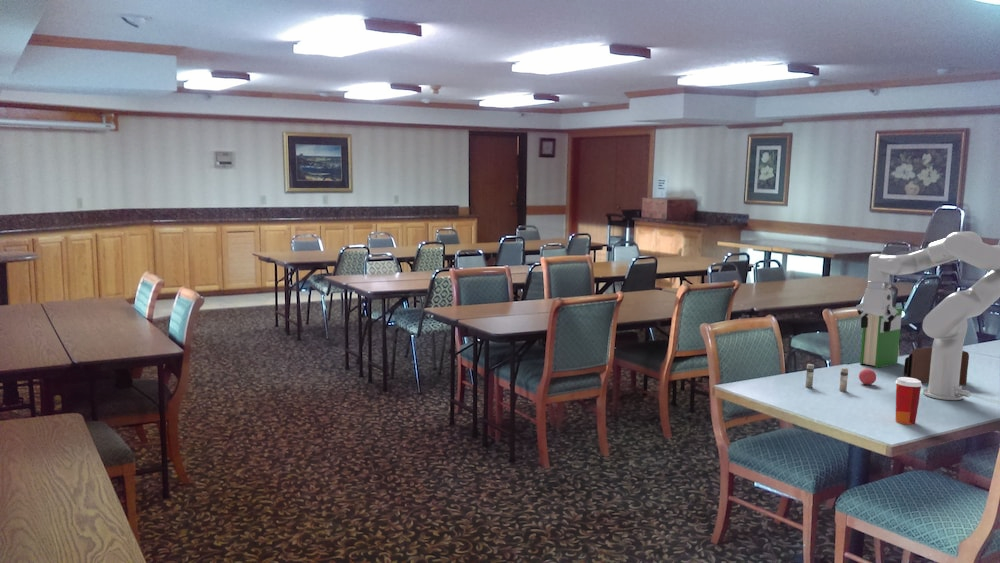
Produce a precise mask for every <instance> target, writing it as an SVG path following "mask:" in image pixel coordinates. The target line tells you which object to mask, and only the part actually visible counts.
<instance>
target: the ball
mask: <svg viewBox="0 0 1000 563" xmlns="http://www.w3.org/2000/svg"><path fill="white" fill-rule="evenodd" d="M858 379H859V381H860V382H861V383H862V384H864V385H872V384H874V383H875V382H876V380H877V375H876V372H875V371H874V370H872V369H870V368H864V369H862V370H861V371H860V372H859V374H858Z"/></svg>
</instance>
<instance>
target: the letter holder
mask: <svg viewBox="0 0 1000 563" xmlns="http://www.w3.org/2000/svg"><path fill="white" fill-rule="evenodd" d="M931 354H932V347H917V348H914V349H912V352H911V353H909V355H908V356H907V357H905V359H904V368H903V374H902V375H903V377H908V378H915V379H918V380H920V381H921V383H926V382H928V383H927V384H929V375H930V364H931ZM969 360H970V354H969V352H967V351H965V350H963V351H962V359H961V369H960V379H959V385H961V386H967V381H968V380H967V379H968V367H969Z"/></svg>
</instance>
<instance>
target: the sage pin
mask: <svg viewBox="0 0 1000 563" xmlns="http://www.w3.org/2000/svg"><path fill="white" fill-rule="evenodd" d="M814 367H815V365H814V364H813V363H807V364H806V372H805V373H806V375H805V376H806V377H805V387H806V388H808V387H809V388H811V387H812V388H813V384H814V374H815V373H814V371H815V368H814ZM812 388H811V389H812Z"/></svg>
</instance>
